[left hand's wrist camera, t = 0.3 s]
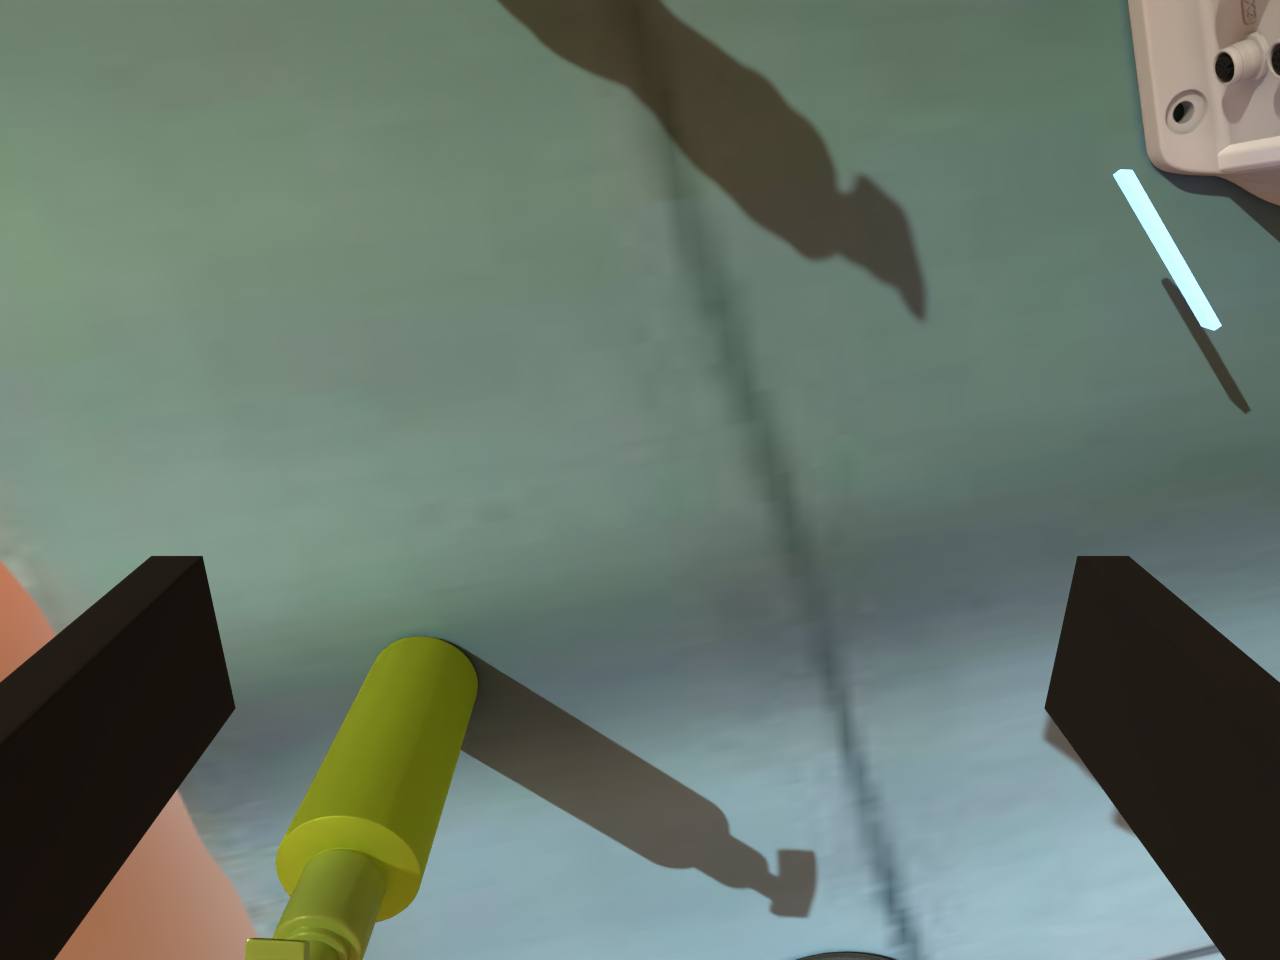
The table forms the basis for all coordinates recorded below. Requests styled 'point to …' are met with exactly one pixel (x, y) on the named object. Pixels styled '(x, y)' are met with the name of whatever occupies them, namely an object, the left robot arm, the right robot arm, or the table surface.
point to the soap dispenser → (373, 804)
